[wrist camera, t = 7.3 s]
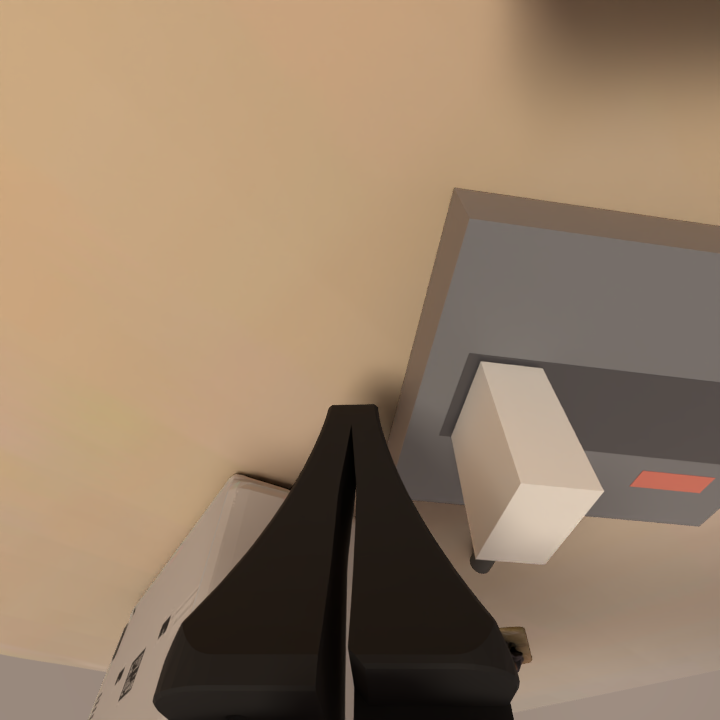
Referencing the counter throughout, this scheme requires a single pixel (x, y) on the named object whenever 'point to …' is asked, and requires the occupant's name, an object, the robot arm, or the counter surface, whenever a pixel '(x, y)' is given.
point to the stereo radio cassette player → (193, 597)
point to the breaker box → (575, 347)
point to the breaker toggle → (520, 466)
